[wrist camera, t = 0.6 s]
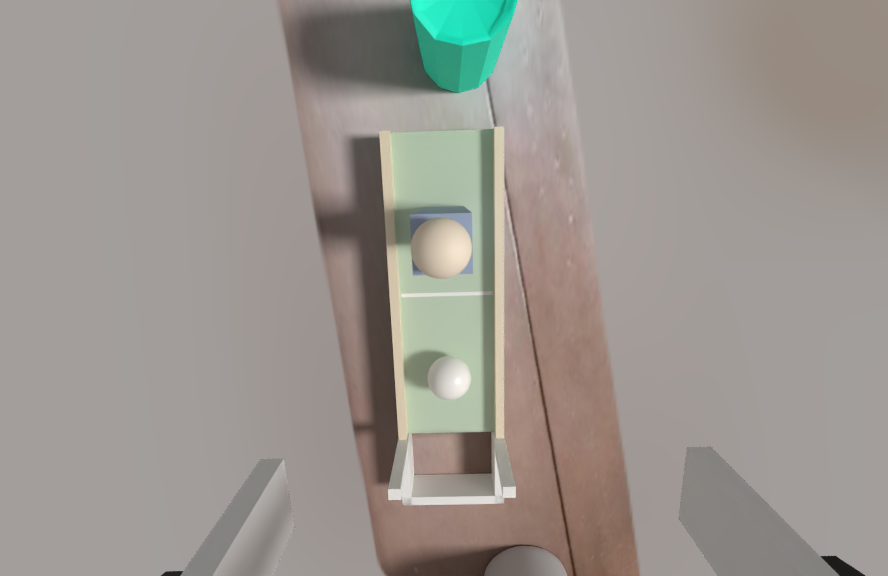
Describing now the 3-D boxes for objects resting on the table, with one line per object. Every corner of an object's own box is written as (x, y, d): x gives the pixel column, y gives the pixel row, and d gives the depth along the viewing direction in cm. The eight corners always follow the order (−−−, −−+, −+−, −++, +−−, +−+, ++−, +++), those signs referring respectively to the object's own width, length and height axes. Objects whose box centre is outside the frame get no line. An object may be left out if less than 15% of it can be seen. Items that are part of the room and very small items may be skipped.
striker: (424, 207, 32) (403, 217, 17) (463, 205, 32) (475, 215, 17) (426, 246, 32) (407, 288, 18) (464, 244, 32) (476, 286, 18)
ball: (427, 349, 34) (425, 367, 31) (469, 348, 34) (471, 365, 31) (429, 388, 35) (427, 409, 32) (470, 387, 35) (472, 408, 32)
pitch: (385, 136, 33) (379, 131, 30) (499, 132, 32) (504, 126, 30) (402, 421, 38) (398, 440, 35) (499, 419, 38) (503, 438, 35)
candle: (405, 33, 31) (378, -64, 19) (475, -11, 30) (491, -140, 19) (444, 108, 32) (440, 58, 20) (512, 67, 31) (550, -9, 20)
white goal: (402, 421, 38) (388, 489, 29) (500, 419, 38) (515, 486, 29) (405, 482, 40) (393, 564, 31) (500, 480, 39) (515, 562, 31)
